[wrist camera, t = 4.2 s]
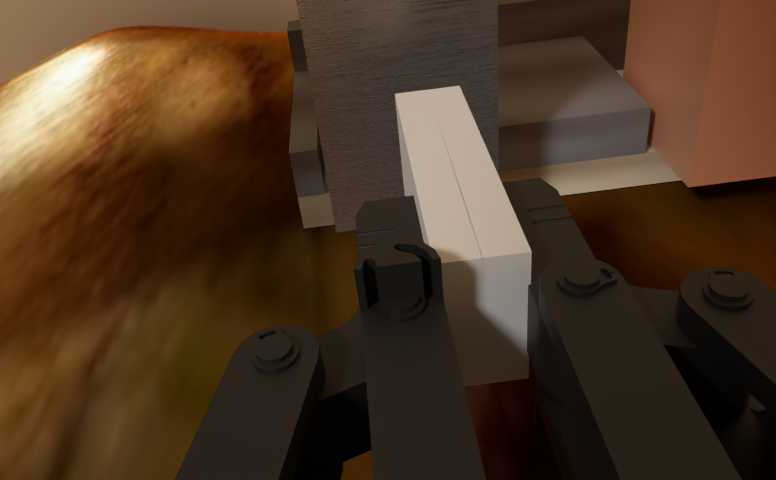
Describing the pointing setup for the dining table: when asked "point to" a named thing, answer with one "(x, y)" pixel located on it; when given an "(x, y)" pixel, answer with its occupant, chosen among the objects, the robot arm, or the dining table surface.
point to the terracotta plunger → (707, 85)
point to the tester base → (529, 105)
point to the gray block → (391, 83)
